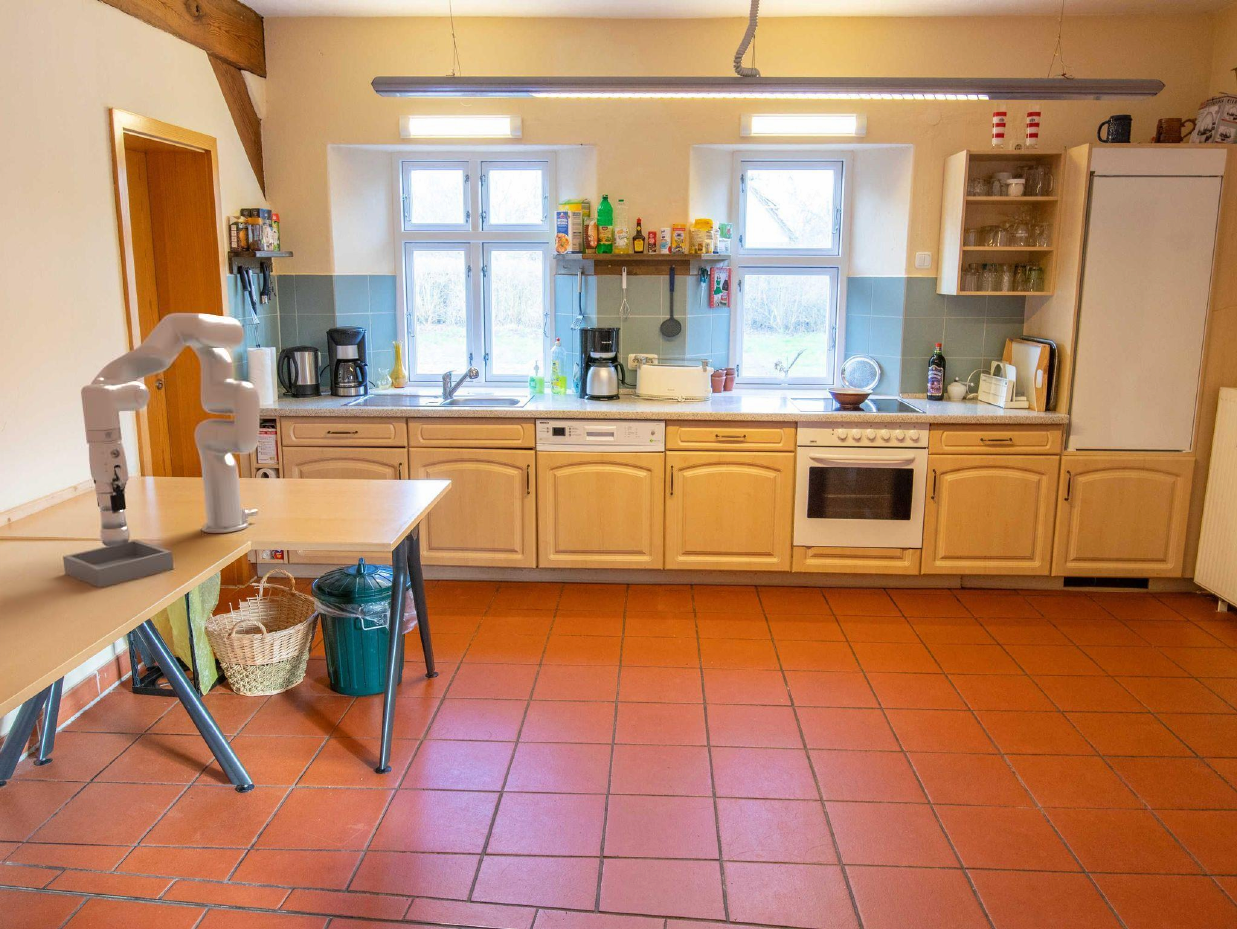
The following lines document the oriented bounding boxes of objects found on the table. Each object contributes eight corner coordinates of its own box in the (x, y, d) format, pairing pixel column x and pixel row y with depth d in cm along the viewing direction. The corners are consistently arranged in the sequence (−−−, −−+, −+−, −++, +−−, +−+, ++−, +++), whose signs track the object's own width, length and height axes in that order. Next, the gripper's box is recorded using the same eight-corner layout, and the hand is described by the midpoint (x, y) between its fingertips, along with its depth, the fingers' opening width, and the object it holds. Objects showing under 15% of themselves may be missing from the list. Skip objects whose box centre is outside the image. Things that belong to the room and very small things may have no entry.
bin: (137, 556, 254) (135, 539, 253) (173, 568, 243) (171, 551, 242) (65, 573, 240) (62, 556, 239) (99, 588, 229) (97, 569, 228)
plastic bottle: (101, 550, 235) (92, 469, 231) (101, 543, 241) (92, 464, 237) (131, 547, 238) (122, 467, 234) (130, 540, 244) (121, 462, 240)
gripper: (137, 437, 232) (145, 510, 236) (102, 430, 242) (110, 500, 246) (105, 441, 226) (113, 516, 230) (71, 434, 237) (79, 506, 240)
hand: (112, 507), depth 238 cm, fingers closed on plastic bottle, 6 cm apart
